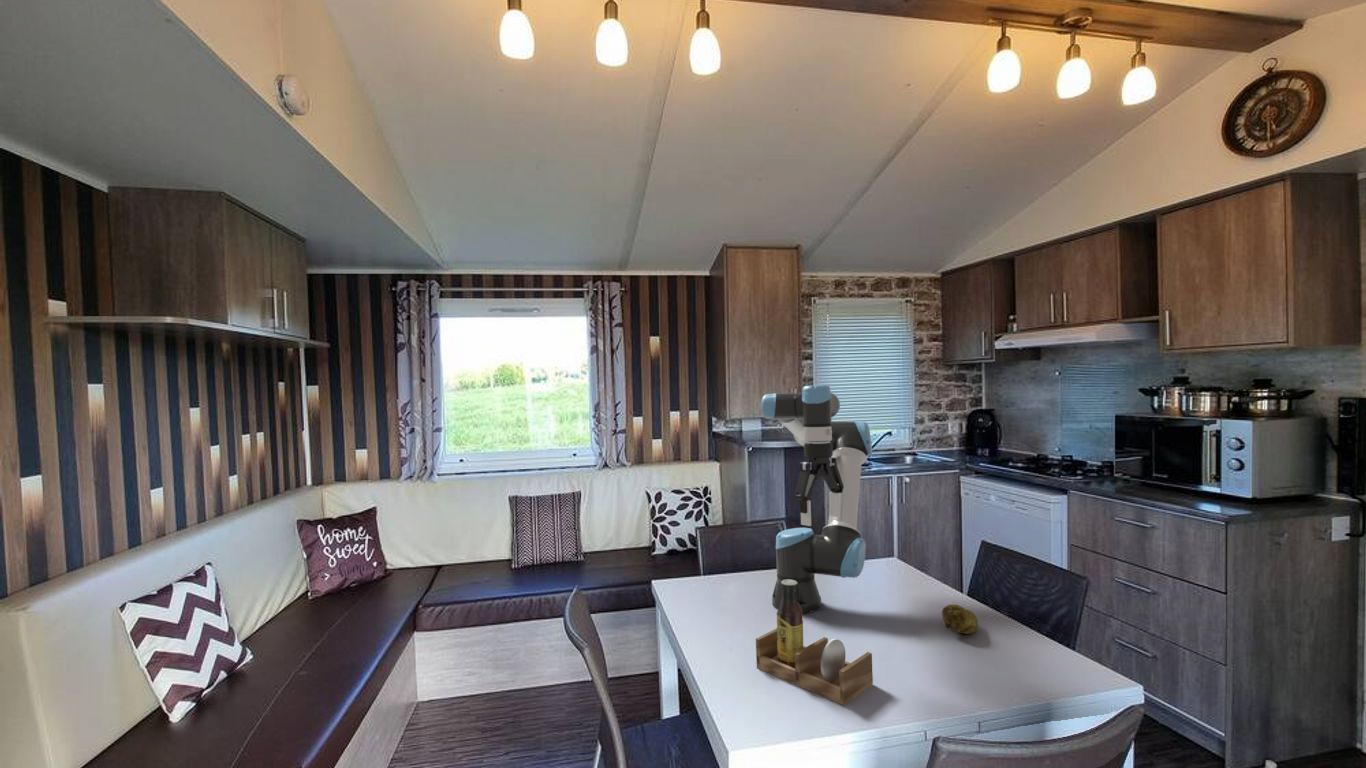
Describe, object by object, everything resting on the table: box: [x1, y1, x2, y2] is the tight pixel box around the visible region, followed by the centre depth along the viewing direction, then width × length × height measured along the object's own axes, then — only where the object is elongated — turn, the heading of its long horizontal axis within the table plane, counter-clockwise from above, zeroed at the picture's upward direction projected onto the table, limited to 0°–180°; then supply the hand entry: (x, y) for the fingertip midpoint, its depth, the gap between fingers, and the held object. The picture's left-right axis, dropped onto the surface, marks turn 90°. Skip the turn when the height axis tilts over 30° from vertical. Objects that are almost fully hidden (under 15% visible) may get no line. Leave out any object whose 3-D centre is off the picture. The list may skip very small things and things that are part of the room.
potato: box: [941, 603, 979, 635], centre depth 153 cm, size 8×13×8 cm, turn 113°
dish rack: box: [755, 627, 874, 706], centre depth 132 cm, size 24×12×10 cm, turn 43°
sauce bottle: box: [776, 579, 804, 668], centre depth 137 cm, size 6×6×20 cm
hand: (820, 520), depth 152 cm, fingers open, 13 cm apart
